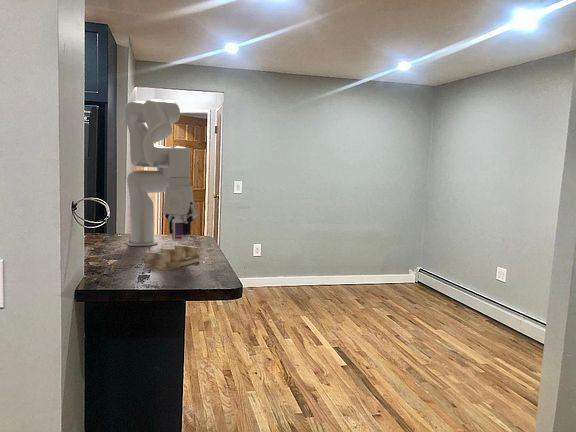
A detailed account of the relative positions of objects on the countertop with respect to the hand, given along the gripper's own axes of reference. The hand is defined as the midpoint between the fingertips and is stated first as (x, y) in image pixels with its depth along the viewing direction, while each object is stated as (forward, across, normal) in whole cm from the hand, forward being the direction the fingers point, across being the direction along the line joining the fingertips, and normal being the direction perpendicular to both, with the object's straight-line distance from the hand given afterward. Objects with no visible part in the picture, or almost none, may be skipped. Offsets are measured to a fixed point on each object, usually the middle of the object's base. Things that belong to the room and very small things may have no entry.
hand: (179, 233), depth 164 cm
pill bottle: (+3, 0, 0) cm, 3 cm away
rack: (+10, 0, -4) cm, 11 cm away
